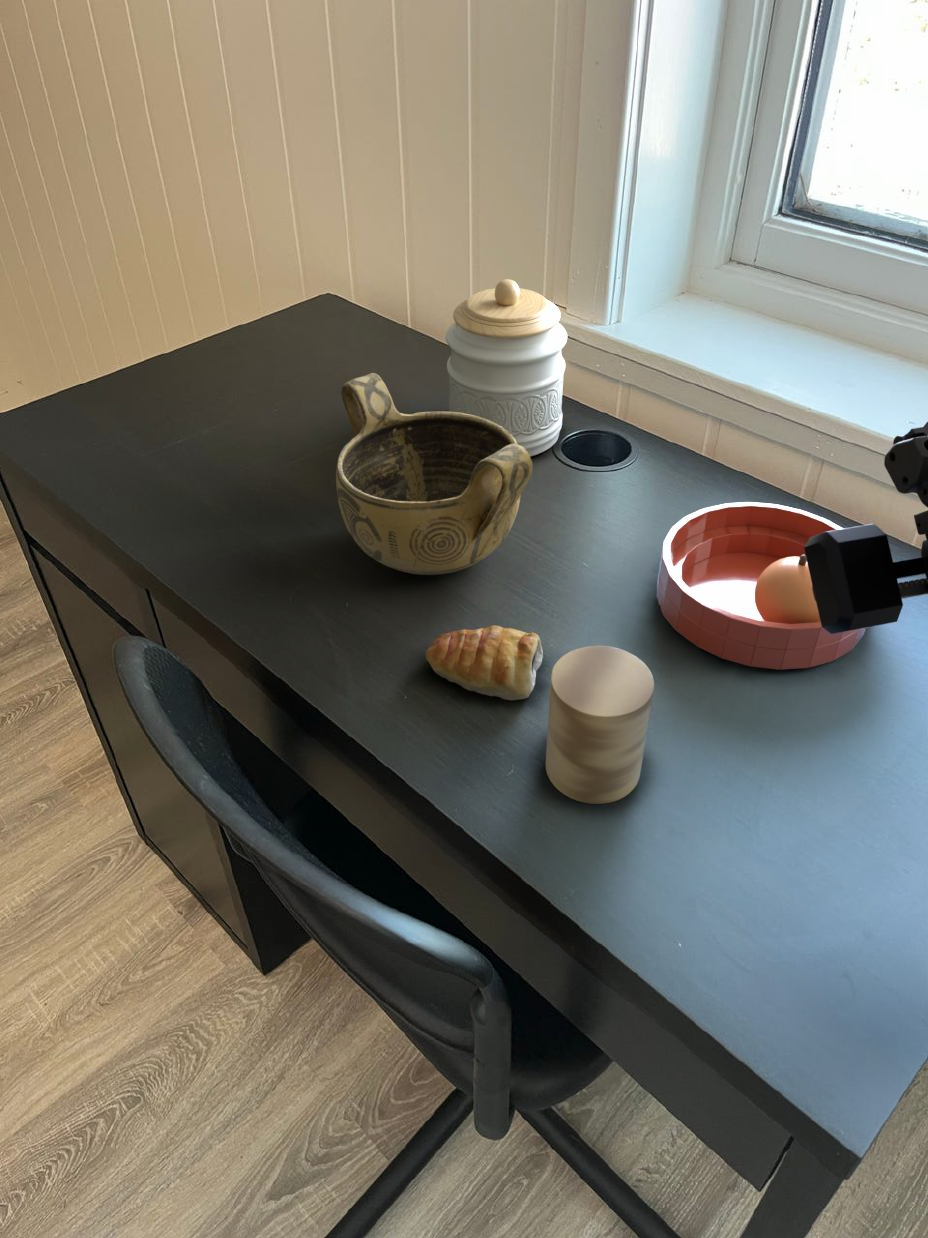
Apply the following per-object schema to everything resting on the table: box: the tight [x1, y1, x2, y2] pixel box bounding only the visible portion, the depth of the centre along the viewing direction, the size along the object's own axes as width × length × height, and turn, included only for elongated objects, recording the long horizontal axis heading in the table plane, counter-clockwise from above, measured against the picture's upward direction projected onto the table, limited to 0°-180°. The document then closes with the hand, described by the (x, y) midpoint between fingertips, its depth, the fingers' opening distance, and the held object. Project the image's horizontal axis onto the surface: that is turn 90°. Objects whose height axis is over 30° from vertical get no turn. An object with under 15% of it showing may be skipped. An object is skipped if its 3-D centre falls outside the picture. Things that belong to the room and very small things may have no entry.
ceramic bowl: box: [335, 372, 534, 576], centre depth 86 cm, size 22×17×15 cm
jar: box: [445, 278, 568, 457], centre depth 103 cm, size 13×13×18 cm
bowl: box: [656, 501, 867, 671], centre depth 83 cm, size 18×18×5 cm
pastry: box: [425, 624, 544, 701], centre depth 77 cm, size 9×7×4 cm
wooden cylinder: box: [545, 645, 655, 805], centre depth 67 cm, size 7×7×9 cm
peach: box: [754, 555, 820, 624], centre depth 78 cm, size 6×6×8 cm
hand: (872, 583), depth 68 cm, fingers open, 9 cm apart
